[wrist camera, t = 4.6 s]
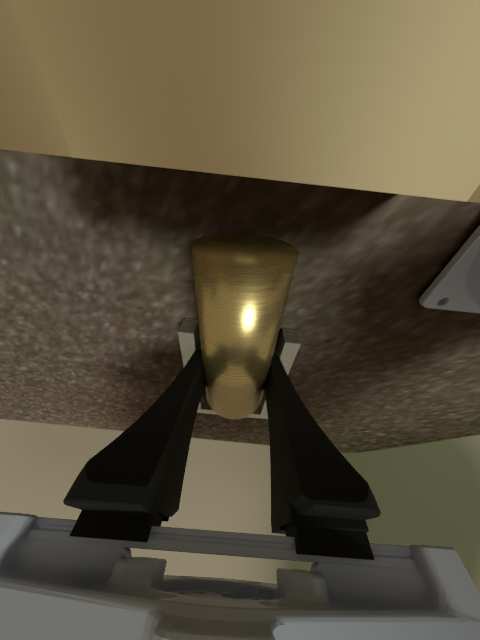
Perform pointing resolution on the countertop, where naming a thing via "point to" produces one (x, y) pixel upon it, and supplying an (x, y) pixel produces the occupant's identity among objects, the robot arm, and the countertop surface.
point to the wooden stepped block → (252, 88)
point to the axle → (240, 314)
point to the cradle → (284, 350)
